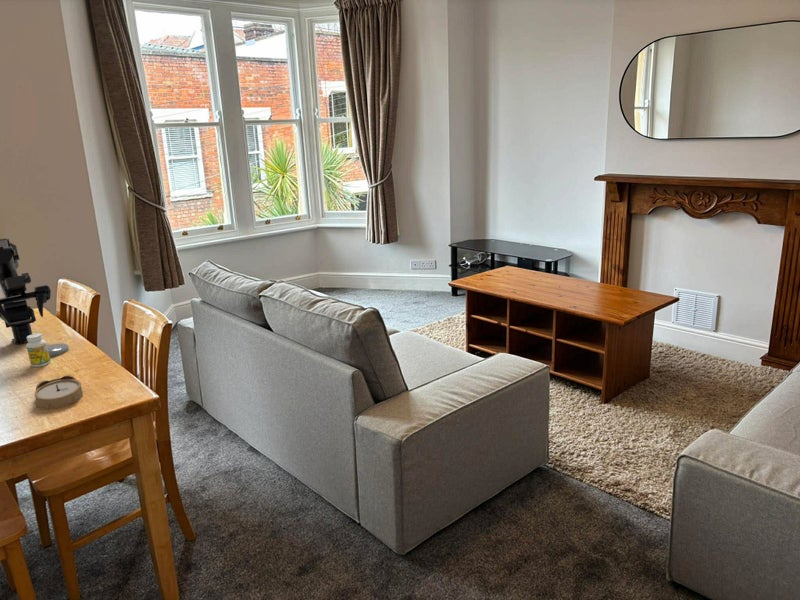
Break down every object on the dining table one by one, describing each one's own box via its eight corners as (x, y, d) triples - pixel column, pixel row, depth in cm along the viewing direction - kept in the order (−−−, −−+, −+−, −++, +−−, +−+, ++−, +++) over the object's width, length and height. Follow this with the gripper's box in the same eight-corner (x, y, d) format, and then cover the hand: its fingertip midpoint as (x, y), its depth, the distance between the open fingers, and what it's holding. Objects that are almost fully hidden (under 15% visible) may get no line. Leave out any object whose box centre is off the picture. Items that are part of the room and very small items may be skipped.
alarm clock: (36, 404, 158) (30, 376, 169) (40, 419, 160) (33, 391, 171) (84, 392, 163) (74, 366, 174) (87, 407, 166) (78, 380, 177)
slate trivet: (27, 353, 202) (26, 350, 202) (63, 343, 209) (62, 341, 209) (36, 361, 194) (35, 358, 194) (73, 351, 201) (72, 348, 201)
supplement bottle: (53, 360, 195) (46, 331, 192) (46, 366, 190) (39, 337, 187) (35, 361, 194) (28, 333, 191) (28, 368, 189) (20, 339, 186)
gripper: (-26, 272, 185) (-9, 314, 181) (42, 260, 197) (59, 299, 193) (-24, 292, 193) (-8, 333, 189) (41, 280, 205) (57, 317, 201)
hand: (26, 320), depth 193 cm, fingers open, 9 cm apart
